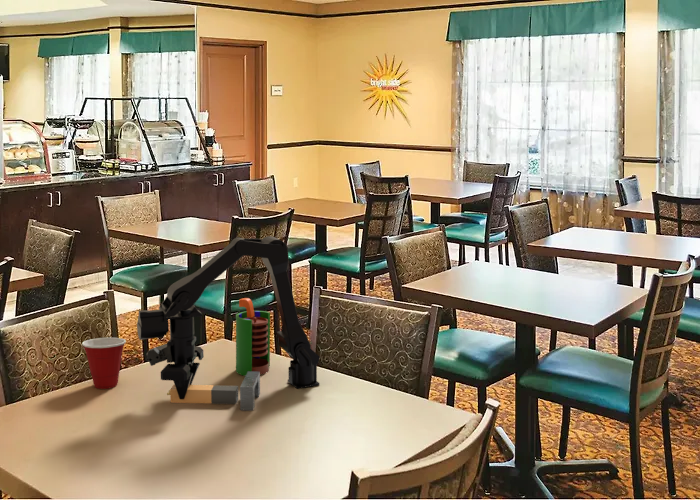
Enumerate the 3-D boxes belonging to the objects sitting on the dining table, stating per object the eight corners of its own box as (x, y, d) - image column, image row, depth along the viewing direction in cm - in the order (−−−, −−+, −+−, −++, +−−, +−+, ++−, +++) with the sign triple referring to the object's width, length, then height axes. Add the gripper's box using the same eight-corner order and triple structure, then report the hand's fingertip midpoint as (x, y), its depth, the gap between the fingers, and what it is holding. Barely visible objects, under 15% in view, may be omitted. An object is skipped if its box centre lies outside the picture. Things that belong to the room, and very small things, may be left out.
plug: (238, 399, 194) (238, 385, 193) (236, 404, 191) (235, 390, 190) (170, 397, 194) (169, 384, 194) (166, 402, 191) (166, 389, 191)
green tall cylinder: (262, 377, 210) (261, 304, 206) (230, 375, 211) (229, 303, 208) (273, 365, 220) (273, 296, 216) (243, 363, 221) (242, 294, 218)
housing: (260, 393, 198) (259, 371, 197) (253, 410, 187) (252, 387, 186) (248, 393, 198) (247, 371, 197) (240, 410, 187) (240, 387, 186)
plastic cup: (131, 377, 209) (129, 334, 207) (123, 391, 198) (121, 345, 196) (89, 378, 208) (87, 334, 206) (79, 392, 197) (77, 346, 195)
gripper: (159, 324, 199) (161, 382, 202) (137, 345, 181) (140, 409, 184) (203, 324, 199) (204, 383, 202) (185, 346, 181) (187, 410, 183)
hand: (183, 396), depth 193 cm, fingers closed on plug, 3 cm apart
